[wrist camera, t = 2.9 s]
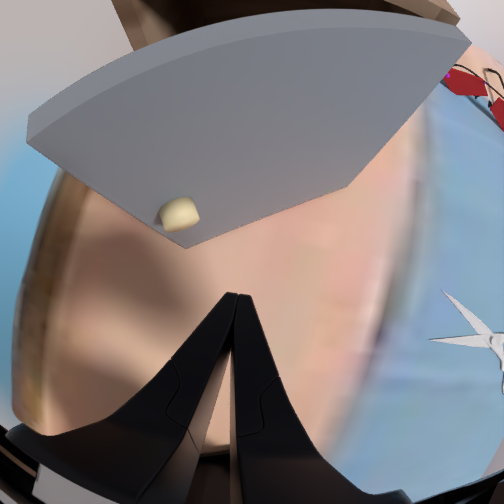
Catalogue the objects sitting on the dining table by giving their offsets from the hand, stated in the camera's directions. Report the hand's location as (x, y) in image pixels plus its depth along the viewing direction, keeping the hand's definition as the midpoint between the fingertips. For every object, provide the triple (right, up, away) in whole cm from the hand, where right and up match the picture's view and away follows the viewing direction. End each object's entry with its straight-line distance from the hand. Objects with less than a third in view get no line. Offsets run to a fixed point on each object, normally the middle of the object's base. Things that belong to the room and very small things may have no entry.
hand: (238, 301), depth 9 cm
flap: (+2, +4, +9) cm, 10 cm away
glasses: (+30, +26, +13) cm, 42 cm away
